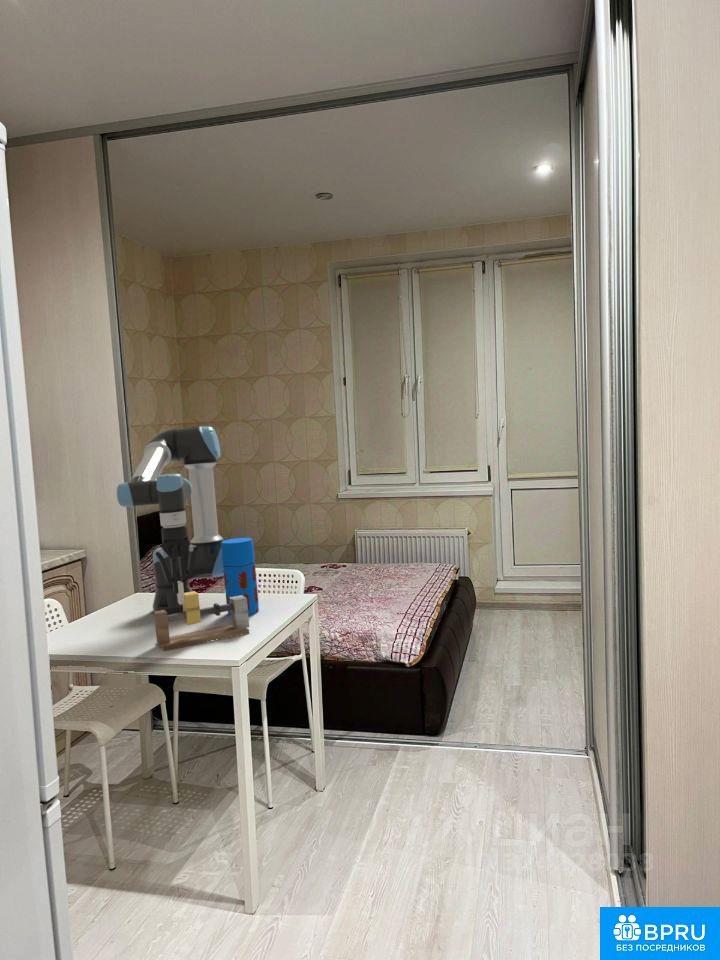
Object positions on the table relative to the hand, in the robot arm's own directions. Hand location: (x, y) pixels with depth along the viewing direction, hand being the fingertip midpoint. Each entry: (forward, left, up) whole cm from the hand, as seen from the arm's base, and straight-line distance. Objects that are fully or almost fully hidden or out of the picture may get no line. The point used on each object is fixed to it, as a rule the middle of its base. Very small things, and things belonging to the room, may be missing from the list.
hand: (181, 603), depth 226 cm
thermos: (-22, +26, -12) cm, 36 cm away
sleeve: (0, +3, -6) cm, 7 cm away
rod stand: (0, +6, -12) cm, 13 cm away
